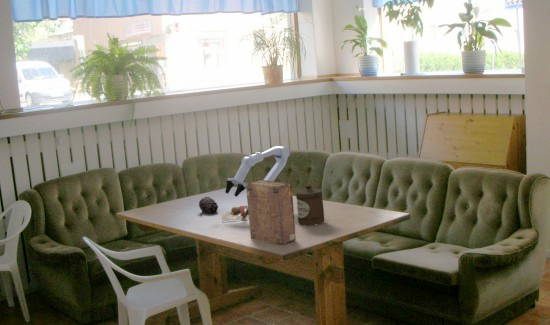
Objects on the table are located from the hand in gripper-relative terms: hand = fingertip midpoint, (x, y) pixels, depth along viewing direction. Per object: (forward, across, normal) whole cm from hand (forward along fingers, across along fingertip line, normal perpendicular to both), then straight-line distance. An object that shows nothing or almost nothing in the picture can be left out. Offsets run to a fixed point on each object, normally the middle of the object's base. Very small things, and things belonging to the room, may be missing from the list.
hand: (230, 194), depth 431 cm
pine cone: (+12, -22, +15) cm, 29 cm away
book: (+20, +57, -17) cm, 63 cm away
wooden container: (-2, +53, +12) cm, 55 cm away
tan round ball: (+7, -3, +14) cm, 16 cm away
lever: (+5, +6, +12) cm, 14 cm away
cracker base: (+8, +3, +13) cm, 15 cm away
